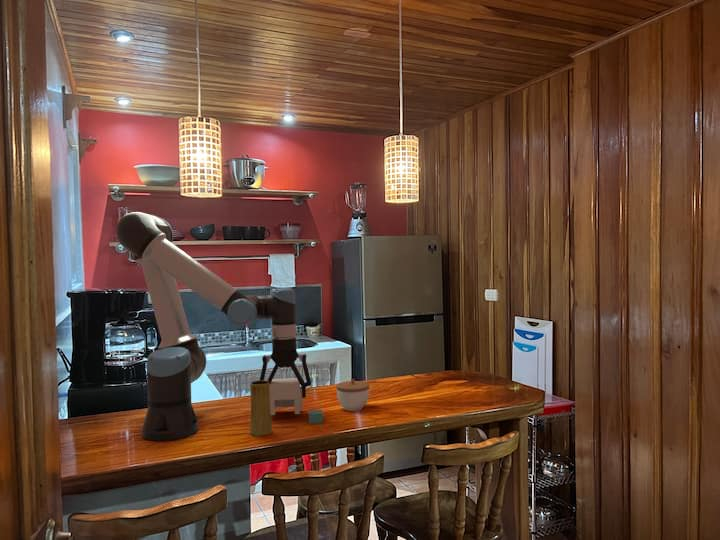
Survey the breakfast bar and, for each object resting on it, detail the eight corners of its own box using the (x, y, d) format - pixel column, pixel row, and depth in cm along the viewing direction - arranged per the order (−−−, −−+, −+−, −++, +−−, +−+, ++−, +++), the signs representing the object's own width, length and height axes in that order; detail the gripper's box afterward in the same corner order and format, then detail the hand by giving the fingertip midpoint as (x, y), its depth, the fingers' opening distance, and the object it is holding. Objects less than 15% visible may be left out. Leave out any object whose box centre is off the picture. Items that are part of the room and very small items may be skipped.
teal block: (308, 420, 157) (308, 410, 157) (321, 419, 157) (321, 409, 157) (309, 424, 153) (309, 414, 153) (323, 423, 154) (322, 413, 153)
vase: (246, 435, 143) (245, 384, 143) (254, 428, 149) (253, 379, 149) (268, 436, 142) (266, 385, 142) (274, 429, 148) (273, 380, 148)
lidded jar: (366, 413, 162) (365, 384, 162) (333, 412, 164) (332, 383, 164) (372, 404, 172) (371, 376, 172) (341, 403, 174) (340, 375, 174)
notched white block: (272, 406, 166) (271, 379, 166) (300, 405, 167) (299, 378, 167) (269, 415, 157) (269, 385, 157) (299, 413, 158) (299, 384, 158)
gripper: (318, 334, 166) (320, 404, 167) (250, 336, 164) (252, 406, 165) (318, 338, 159) (320, 410, 159) (247, 340, 157) (249, 413, 157)
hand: (285, 408), depth 162 cm, fingers closed on notched white block, 9 cm apart
